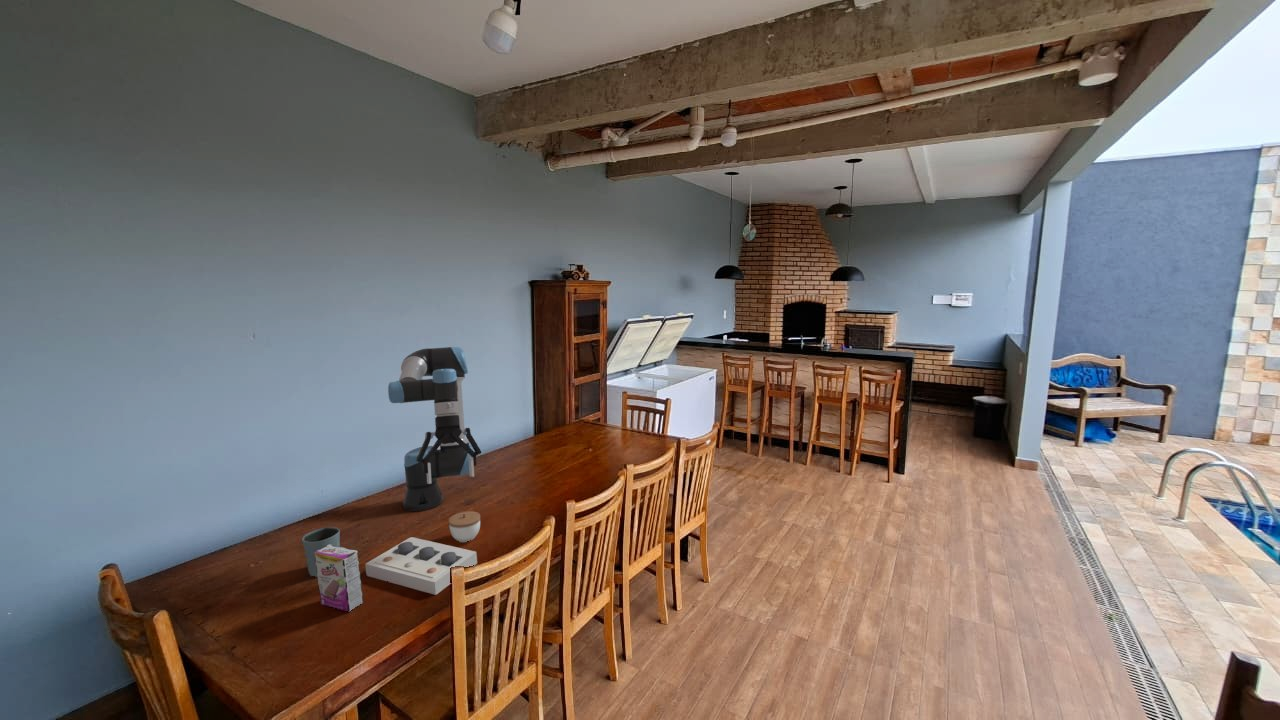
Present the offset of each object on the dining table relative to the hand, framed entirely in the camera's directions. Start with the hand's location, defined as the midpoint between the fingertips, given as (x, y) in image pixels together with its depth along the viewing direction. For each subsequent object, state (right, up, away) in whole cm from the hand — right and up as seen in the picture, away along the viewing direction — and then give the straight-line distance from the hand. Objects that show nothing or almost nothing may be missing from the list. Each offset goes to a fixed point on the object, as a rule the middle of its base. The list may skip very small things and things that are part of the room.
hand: (451, 480), depth 165 cm
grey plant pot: (-39, -28, -4) cm, 48 cm away
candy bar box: (-23, -30, -22) cm, 44 cm away
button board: (-7, -27, -5) cm, 29 cm away
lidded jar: (0, -25, +15) cm, 29 cm away
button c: (+2, -25, -7) cm, 26 cm away
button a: (-15, -24, 0) cm, 28 cm away
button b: (-6, -25, -3) cm, 26 cm away
